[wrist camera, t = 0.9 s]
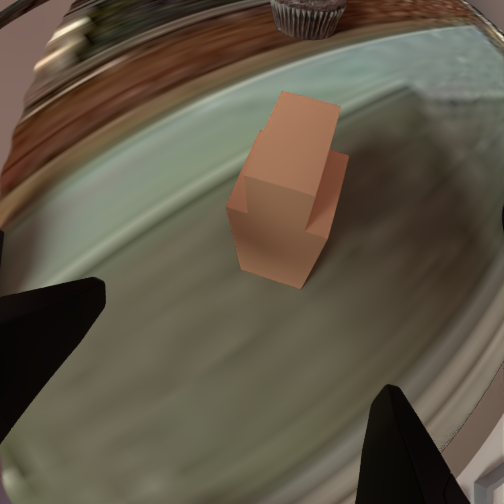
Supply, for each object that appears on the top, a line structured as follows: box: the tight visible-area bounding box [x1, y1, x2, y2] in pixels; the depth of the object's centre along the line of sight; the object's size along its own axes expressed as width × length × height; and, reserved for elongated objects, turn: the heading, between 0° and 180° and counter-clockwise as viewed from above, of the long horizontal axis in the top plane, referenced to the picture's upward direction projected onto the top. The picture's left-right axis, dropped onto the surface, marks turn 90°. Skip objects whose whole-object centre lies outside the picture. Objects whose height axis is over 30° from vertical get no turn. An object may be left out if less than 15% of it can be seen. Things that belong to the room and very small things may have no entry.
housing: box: [441, 362, 504, 504], centre depth 13 cm, size 18×18×4 cm
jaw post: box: [226, 91, 349, 289], centre depth 17 cm, size 4×4×13 cm
